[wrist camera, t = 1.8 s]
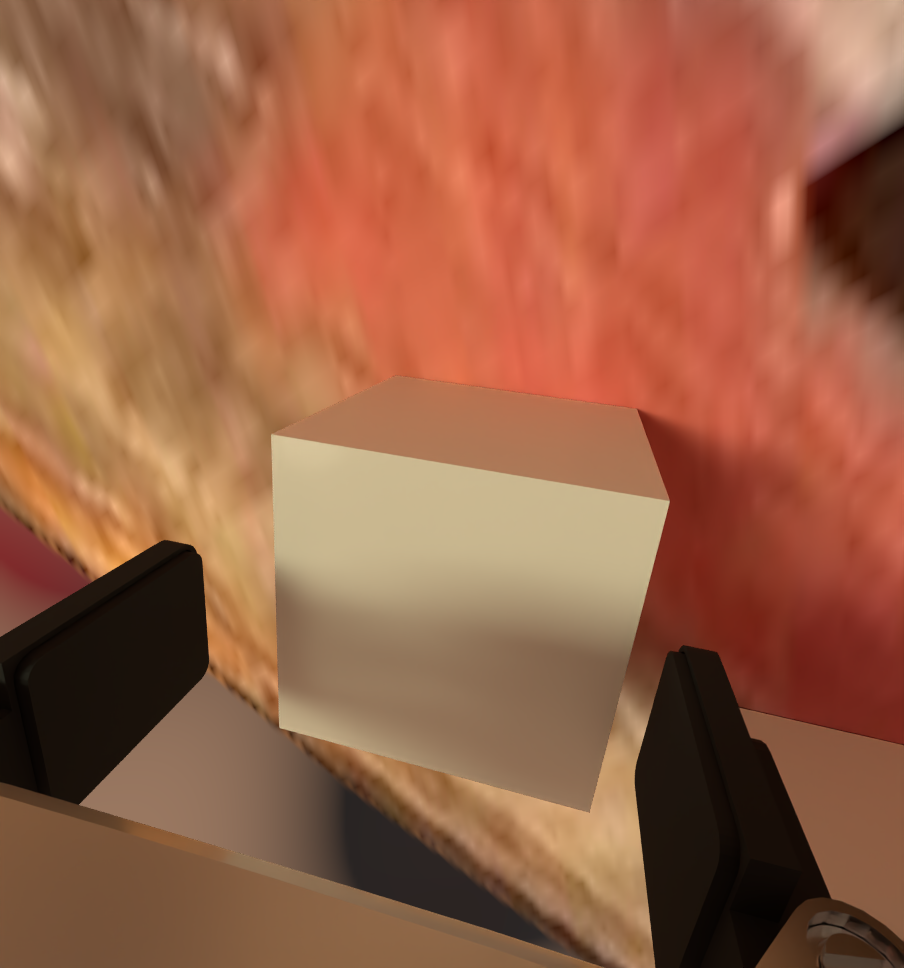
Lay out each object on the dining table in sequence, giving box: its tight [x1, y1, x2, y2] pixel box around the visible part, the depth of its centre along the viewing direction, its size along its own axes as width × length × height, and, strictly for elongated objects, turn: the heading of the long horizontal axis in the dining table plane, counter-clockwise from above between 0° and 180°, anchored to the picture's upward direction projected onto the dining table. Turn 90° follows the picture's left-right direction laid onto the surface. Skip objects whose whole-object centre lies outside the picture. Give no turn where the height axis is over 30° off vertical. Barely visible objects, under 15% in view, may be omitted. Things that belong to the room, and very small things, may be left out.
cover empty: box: [739, 708, 904, 941], centre depth 15 cm, size 7×7×7 cm
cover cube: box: [271, 375, 670, 813], centre depth 14 cm, size 7×7×7 cm
